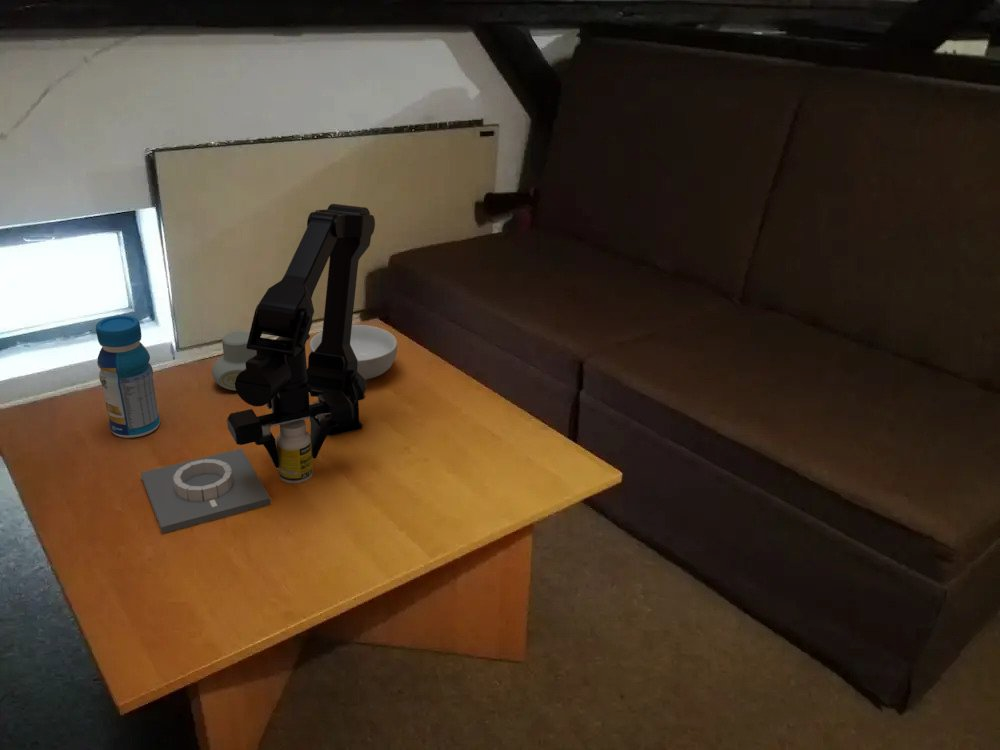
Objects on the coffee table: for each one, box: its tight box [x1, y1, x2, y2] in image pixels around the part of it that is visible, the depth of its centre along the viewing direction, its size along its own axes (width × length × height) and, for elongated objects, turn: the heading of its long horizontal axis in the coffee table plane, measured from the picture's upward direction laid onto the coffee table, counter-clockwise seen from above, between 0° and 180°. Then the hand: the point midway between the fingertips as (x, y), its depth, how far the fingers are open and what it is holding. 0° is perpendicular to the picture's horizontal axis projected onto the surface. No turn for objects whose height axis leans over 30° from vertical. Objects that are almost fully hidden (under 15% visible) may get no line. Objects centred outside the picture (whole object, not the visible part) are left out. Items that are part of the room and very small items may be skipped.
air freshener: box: [211, 330, 257, 392], centre depth 166 cm, size 11×8×10 cm
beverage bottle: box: [95, 315, 161, 439], centre depth 148 cm, size 8×8×20 cm
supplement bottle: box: [275, 419, 314, 484], centre depth 139 cm, size 5×5×10 cm
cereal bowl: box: [309, 324, 398, 381], centre depth 172 cm, size 17×17×7 cm
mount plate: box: [140, 448, 272, 535], centre depth 135 cm, size 16×16×3 cm
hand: (295, 462), depth 140 cm, fingers open, 6 cm apart
